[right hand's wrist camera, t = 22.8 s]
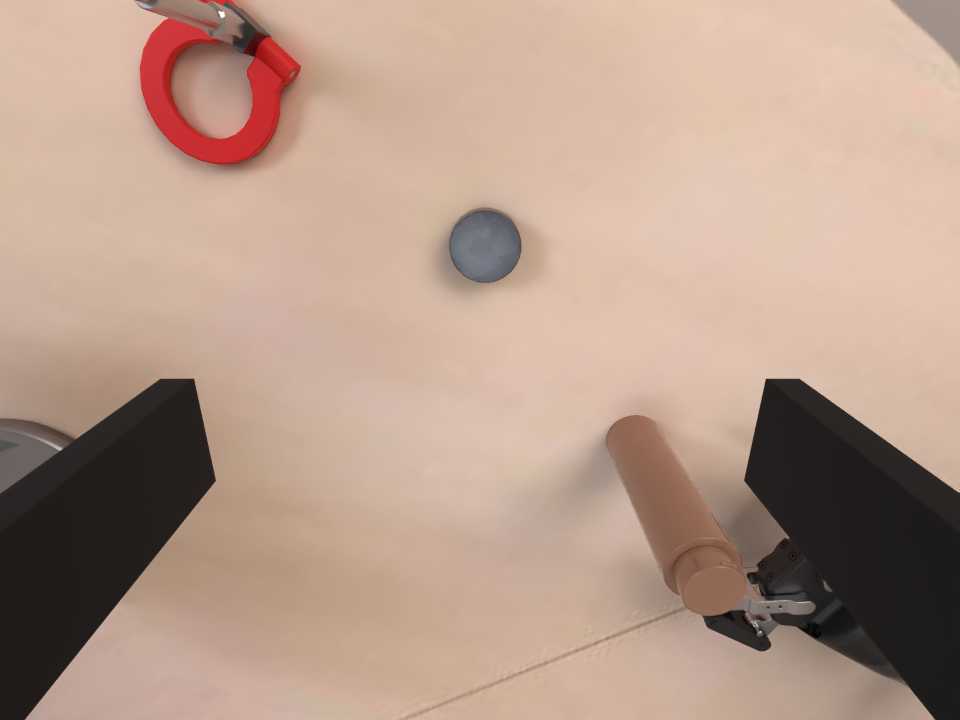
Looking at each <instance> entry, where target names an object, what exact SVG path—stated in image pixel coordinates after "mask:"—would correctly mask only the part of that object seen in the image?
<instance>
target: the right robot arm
mask: <svg viewBox="0 0 960 720" xmlns="http://www.w3.org/2000/svg"><path fill="white" fill-rule="evenodd" d="M215 481H216V479H215V474H214V470H213V465H212V460H211V456H210V451H209V446H208V442H207V437H206V432H205V428H204V423H203V418H202V414H201V409H200V404H199V400H198V395H197V390H196V386H195V381H194V379H160V380H158V381H157V382H156V383H154V384H153V385H151V386H150V387H149V388H147V389H146V390H144V391H143V392H142V393H140V394H139V395H137V396H136V397H135V398H133V399H132V400H130V401H129V402H128V403H126V404H125V405H123V406H122V407H121V408H119V409H118V410H116V411H115V412H114V413H112V414H111V415H109V416H108V417H107V418H105V419H104V420H102V421H101V422H100V423H98V424H97V425H95V426H94V427H93V428H91V429H90V430H88V431H87V432H86V433H84V434H83V435H81V436H80V437H79V438H77V439H76V440H73V439H72V438H70V437H68V436H66V435H64V434H62V433H60V432H58V431H56V430H54V429H51V428H48V427H46V426H43V425H40V424H36V423H32V422H28V421H23V420H15V419H0V720H25V719H26V717H27V716H28V715H29V714H30V712H31V711H32V710H33V709H34V707H35V706H36V705H37V704H38V702H39V701H40V700H41V699H42V697H43V696H44V695H45V694H46V692H47V691H48V690H49V689H50V687H51V686H52V685H53V684H54V682H55V681H56V680H57V679H58V677H59V676H60V675H61V674H62V672H63V671H64V670H65V669H66V667H67V666H68V665H69V664H70V662H71V661H72V660H73V659H74V657H75V656H76V655H77V654H78V652H79V651H80V650H81V649H82V647H83V646H84V645H85V644H86V642H87V641H88V640H89V639H90V637H91V636H92V635H93V634H94V632H95V631H96V630H97V629H98V627H99V626H100V625H101V624H102V622H103V621H104V620H105V619H106V617H107V616H108V615H109V614H110V612H111V611H112V610H113V609H114V607H115V606H116V605H117V604H118V602H119V601H120V600H121V599H122V597H123V596H124V595H125V594H126V592H127V591H128V590H129V589H130V587H131V586H132V585H133V584H134V582H135V581H136V580H137V579H138V577H139V576H140V575H141V574H142V572H143V571H144V570H145V569H146V567H147V566H148V565H149V564H150V562H151V561H152V560H153V559H154V557H155V556H156V555H157V554H158V552H159V551H160V550H161V549H162V547H163V546H164V545H165V544H166V542H167V541H168V540H169V539H170V537H171V536H172V535H173V534H174V532H175V531H176V530H177V529H178V527H179V526H180V525H181V524H182V522H183V521H184V520H185V519H186V517H187V516H188V515H189V514H190V512H191V511H192V510H193V509H194V507H195V506H196V505H197V504H198V502H199V501H200V500H201V499H202V497H203V496H204V495H205V494H206V492H207V491H208V490H209V489H210V487H211V486H212V485H213V484H214V482H215ZM744 481H745V482H746V484H747V485H748V486H749V487H750V489H751V490H752V491H753V492H754V494H755V495H756V496H757V497H758V499H759V500H760V501H761V502H762V504H763V505H764V506H765V507H766V509H767V510H768V511H769V512H770V514H771V515H772V516H773V517H774V519H775V520H776V521H777V522H778V524H779V525H780V526H781V527H782V529H783V530H784V531H785V532H786V534H787V535H788V536H789V537H790V539H791V540H792V541H793V542H794V544H795V545H796V546H797V547H798V549H799V550H800V551H801V552H802V554H803V555H804V556H805V557H806V559H807V560H808V561H809V562H810V564H811V565H812V566H813V567H814V569H815V570H816V571H817V572H818V574H819V575H820V576H821V577H822V579H823V580H824V581H825V582H826V584H827V585H828V586H829V587H830V589H831V590H832V591H833V592H834V594H835V595H836V596H837V597H838V599H839V600H840V601H841V602H842V604H843V605H844V606H845V607H846V609H847V610H848V611H849V612H850V614H851V615H852V616H853V617H854V619H855V620H856V621H857V622H858V624H859V625H860V626H861V627H862V629H863V630H864V631H865V632H866V634H867V635H868V636H869V637H870V639H871V640H872V641H873V642H874V644H875V645H876V646H877V647H878V649H879V650H880V651H881V652H882V654H883V655H884V656H885V657H886V659H887V660H888V661H889V662H890V664H891V665H892V666H893V667H894V669H895V670H896V671H897V672H898V674H899V675H900V676H901V677H902V679H903V680H904V681H905V682H906V684H907V685H908V686H909V687H910V689H911V690H912V691H913V692H914V694H915V695H916V696H917V697H918V699H919V700H920V701H921V702H922V704H923V705H924V706H925V707H926V709H927V710H928V711H929V712H930V714H931V715H932V716H933V717H934V719H935V720H960V493H959V492H957V491H955V490H954V489H953V488H951V487H950V486H948V485H947V484H946V483H944V482H943V481H941V480H940V479H939V478H937V477H936V476H934V475H933V474H932V473H930V472H929V471H927V470H926V469H925V468H923V467H922V466H920V465H919V464H918V463H916V462H915V461H913V460H912V459H911V458H909V457H908V456H906V455H905V454H904V453H902V452H901V451H899V450H898V449H897V448H895V447H894V446H893V445H891V444H890V443H888V442H887V441H886V440H884V439H883V438H881V437H880V436H879V435H877V434H876V433H874V432H873V431H872V430H870V429H869V428H867V427H866V426H865V425H863V424H862V423H860V422H859V421H858V420H856V419H855V418H853V417H852V416H851V415H849V414H848V413H846V412H845V411H844V410H842V409H841V408H839V407H838V406H837V405H835V404H834V403H832V402H831V401H830V400H828V399H827V398H825V397H824V396H823V395H821V394H820V393H818V392H817V391H816V390H814V389H813V388H811V387H810V386H809V385H807V384H806V383H804V382H803V381H802V380H800V379H766V381H765V386H764V390H763V395H762V400H761V404H760V409H759V414H758V418H757V423H756V428H755V432H754V437H753V442H752V446H751V451H750V456H749V460H748V465H747V470H746V474H745V479H744Z"/></svg>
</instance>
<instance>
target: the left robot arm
mask: <svg viewBox="0 0 960 720" xmlns="http://www.w3.org/2000/svg"><path fill="white" fill-rule="evenodd" d="M757 566H758V567H751V568H741V570H742V571H743V573H744V575H745V577H746V583H747V584H746V593H745V596H744V598H743V599H742V601H741V602H740V603H739V604H738V605H737V606H736V607H735V608H733V609H732V610H730V611H728V612H726V613H723V614H720V615H714V616H705V615H702V616H703V618H704V621H705V623H706V626H707V627H708V628H709V629H712V630H714V631H716V632H718V633H720V634H723V635H725V636H727V637H729V638H732V639H734V640H736V641H738V642H740V643H743V644H745V645H747V646H749V647H751V648H754V649H756V650H758V651H766V650H768V649H769V648H770V647H771V642H770V641H769V639H768V637H767V636H768V635H769V634H770V633H771V632H772V631H773V630H774V629H775V628H776V627H777V626H778V625H779V624H780V625H787V626H795V627H797V628H799V629H800V630H802V631H803V632H805V633H806V634H807V635H809V636H810V637H812V638H814V639H815V640H817V641H819V642H821V643H823V644H824V645H826V646H828V647H830V648H832V649H833V650H835V651H837V652H839V653H841V654H843V655H844V656H846V657H848V658H850V659H852V660H854V661H855V662H857V663H859V664H861V665H863V666H865V667H866V668H868V669H870V670H872V671H874V672H876V673H878V674H880V675H882V676H885V677H888V678H891V679H894V680H897V681H899V682H900V683H902V684H904V685H906V686H908V685H907V684H906V682H905V681H904V680H903V679H902V677H901V676H900V675H899V674H898V672H897V671H896V670H895V669H894V667H893V666H892V665H891V664H890V662H889V661H888V660H887V659H886V657H885V656H884V655H883V654H882V652H881V651H880V650H879V649H878V647H877V646H876V645H875V644H874V642H873V641H872V640H871V639H870V637H869V636H868V635H867V634H866V632H865V631H864V630H863V629H862V627H861V626H860V625H859V624H858V622H857V621H856V620H855V619H854V617H853V616H852V615H851V614H850V612H849V611H848V610H847V609H846V607H845V606H844V605H843V604H842V602H841V601H840V600H839V599H838V597H837V596H836V595H835V594H834V592H833V591H832V590H831V589H830V587H829V586H828V585H827V584H826V582H825V581H824V580H823V579H822V577H821V576H820V575H819V574H818V572H817V571H816V570H815V569H814V567H813V566H812V565H811V564H810V562H809V561H808V560H807V559H806V557H805V556H804V555H803V554H802V552H801V551H800V550H799V549H798V547H797V546H796V545H795V544H794V542H793V541H792V540H791V539H787V538H784V539H783V540H782V541H781V542H780V543H779V544H778V545H777V547H776V548H775V550H774V551H773V553H771V554H770V555H768V556H766V557H765V558H763V559H762V560H761V561H760V562H759V563H758V564H757ZM752 584H758V585H759V589H760V593H761V595H759V594H758V593H757V592H756V591H755V589H754V588H753V586H752ZM908 687H909V686H908ZM909 688H910V687H909Z"/></svg>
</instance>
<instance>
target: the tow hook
mask: <svg viewBox="0 0 960 720" xmlns="http://www.w3.org/2000/svg"><path fill="white" fill-rule="evenodd" d="M135 2H136V3H137V4H138V5H139V6H140V7H141V8H143V9H145V10H148V11H151V12H154V13H157V14H160V15H163V16H166V17H168V18H169V19H167V20H165V21H163V22H162V23H161V24H160V25H159V26H158V27H157V28H156V29H155V30H154V31H153V32H152V33H151V35H150V37H149V39H148V41H147V43H146V45H145V47H144V49H143V54H142V60H141V65H140V77H141V89H142V93H143V96H144V99H145V103H146V106H147V109H148V111H149V112H150V114H151V116H152V118H153V120H154V122H155V123H156V125H157V127H158V128H159V129H160V130H161V131H162V133H163V134H164V135H165V136H166V137H167V139H168V140H169V141H170V142H171V143H173V144H174V145H175V146H176V147H178V148H179V149H180V150H182V151H183V152H184V153H185V154H188V155H190V156H192V157H194V158H196V159H198V160H201V161H204V162H209V163H214V164H229V163H239V162H242V161H244V160H246V159H249V158H251V157H254V156H255V155H256V154H257V153H259V152H260V151H261V150H262V149H263V148H264V147H266V146H267V144H268V142H269V141H270V139H271V138H272V136H273V134H274V133H275V130H276V127H277V123H278V120H279V116H280V92H281V91H282V89H283V88H284V86H285V85H286V84H289V83H291V82H292V81H293V80H294V79H295V78H296V76H297V75H298V73H299V71H300V65H299V64H298V63H297V62H296V61H295V60H293V59H292V58H291V57H290V56H289V55H288V54H287V53H286V52H285V51H284V50H283V49H282V48H281V47H280V46H279V45H278V44H276V43H275V42H274V41H273V40H272V39H271V36H270V35H269V34H268V33H267V32H266V31H265V30H264V29H263V28H262V27H261V26H260V25H259V24H258V23H257V22H256V21H254V20H253V19H252V18H251V17H250V16H249V15H248V14H247V13H246V12H245V11H244V10H243V9H241V8H239V7H237V6H236V5H235V4H234V3H233V2H232V1H231V0H135ZM220 41H224V42H228V43H231V44H232V45H233V46H234V47H235V48H236V49H237V50H238V51H240V52H241V53H244V54H247V55H250V56H254V57H255V59H254V60H253V62H252V63H251V65H250V66H249V68H248V69H247V76H248V78H249V80H250V84H251V89H252V93H253V107H252V111H251V114H250V118H249V120H248V121H247V123H246V125H245V126H244V128H243V129H241V130H240V131H239V132H238V133H237V134H236V135H233V136H231V137H229V138H226V139H215V138H210V137H207V136H205V135H203V134H201V133H199V132H197V131H196V130H195V129H194V128H192V127H191V126H190V125H189V124H188V123H187V122H186V121H185V120H184V118H183V117H182V116H181V115H180V113H179V111H178V109H177V107H176V105H175V103H174V100H173V97H172V93H171V86H170V76H171V71H172V66H173V64H174V62H175V60H176V58H177V56H178V55H179V54H180V53H181V52H182V51H183V50H184V49H185V48H187V47H189V46H191V45H193V44H195V43H204V42H209V43H214V44H217V43H219V42H220Z"/></svg>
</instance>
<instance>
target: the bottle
mask: <svg viewBox="0 0 960 720" xmlns="http://www.w3.org/2000/svg"><path fill="white" fill-rule="evenodd" d="M607 448H608V450H609V453H610V455H611V457H612V460H613V462H614V464H615V467H616V469H617V471H618V474H619V476H620V478H621V481H622V483H623V485H624V488H625V490H626V492H627V495H628V497H629V499H630V502H631V504H632V506H633V509H634V511H635V513H636V516H637V518H638V520H639V523H640V525H641V527H642V530H643V532H644V534H645V537H646V539H647V541H648V544H649V546H650V548H651V551H652V553H653V555H654V558H655V560H656V562H657V565H658V567H659V569H660V572H661V574H662V576H663V579H664V581H665V583H666V585H667V586H668V587H669V588H670V589H671V590H672V591H673V592H674V593H676V594H678V595H680V596H681V598H682V601H683V603H684V604H685V606H686V607H687V608H688V609H689V610H691V611H692V612H694V613H697V614H700V615H705V616H714V615H720V614H723V613H726V612H728V611H730V610H732V609H733V608H735V607H736V606H737V605H738V604H739V603H740V602H741V601H742V599H743V598H744V596H745V593H746V584H747V583H746V577H745V575H744V573H743V571H742V570H741V557H740V554H739V552H738V551H737V549H736V547H735V546H734V544H733V543H732V541H731V540H730V538H729V537H728V535H727V533H726V532H725V530H724V529H723V527H722V526H721V524H720V523H719V521H718V519H717V518H716V516H715V515H714V513H713V512H712V510H711V509H710V507H709V506H708V504H707V502H706V501H705V499H704V498H703V496H702V495H701V493H700V492H699V490H698V488H697V487H696V485H695V484H694V482H693V481H692V479H691V478H690V476H689V474H688V473H687V471H686V470H685V468H684V467H683V465H682V464H681V462H680V460H679V459H678V457H677V456H676V454H675V453H674V451H673V450H672V448H671V446H670V445H669V443H668V442H667V440H666V439H665V437H664V436H663V434H662V432H661V431H660V429H659V428H658V426H657V425H656V424H655V422H653V421H652V420H651V419H649V418H647V417H644V416H628V417H625V418H623V419H621V420H619V421H618V422H616V423H615V424H614V425H613V426H612V427H611V429H610V431H609V433H608V435H607Z"/></svg>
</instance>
